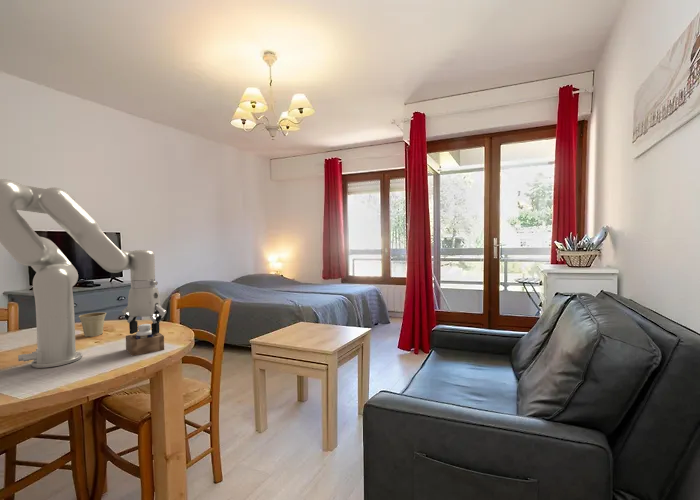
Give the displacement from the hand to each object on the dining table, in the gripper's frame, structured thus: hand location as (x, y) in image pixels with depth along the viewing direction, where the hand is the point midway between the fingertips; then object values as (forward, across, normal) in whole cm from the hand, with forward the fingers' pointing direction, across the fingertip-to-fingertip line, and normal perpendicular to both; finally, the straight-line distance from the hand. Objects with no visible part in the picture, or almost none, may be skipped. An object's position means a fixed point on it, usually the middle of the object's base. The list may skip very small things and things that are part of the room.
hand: (144, 333), depth 127 cm
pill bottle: (+6, 0, 0) cm, 6 cm away
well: (+6, 0, 0) cm, 6 cm away
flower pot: (+6, +36, -16) cm, 40 cm away
